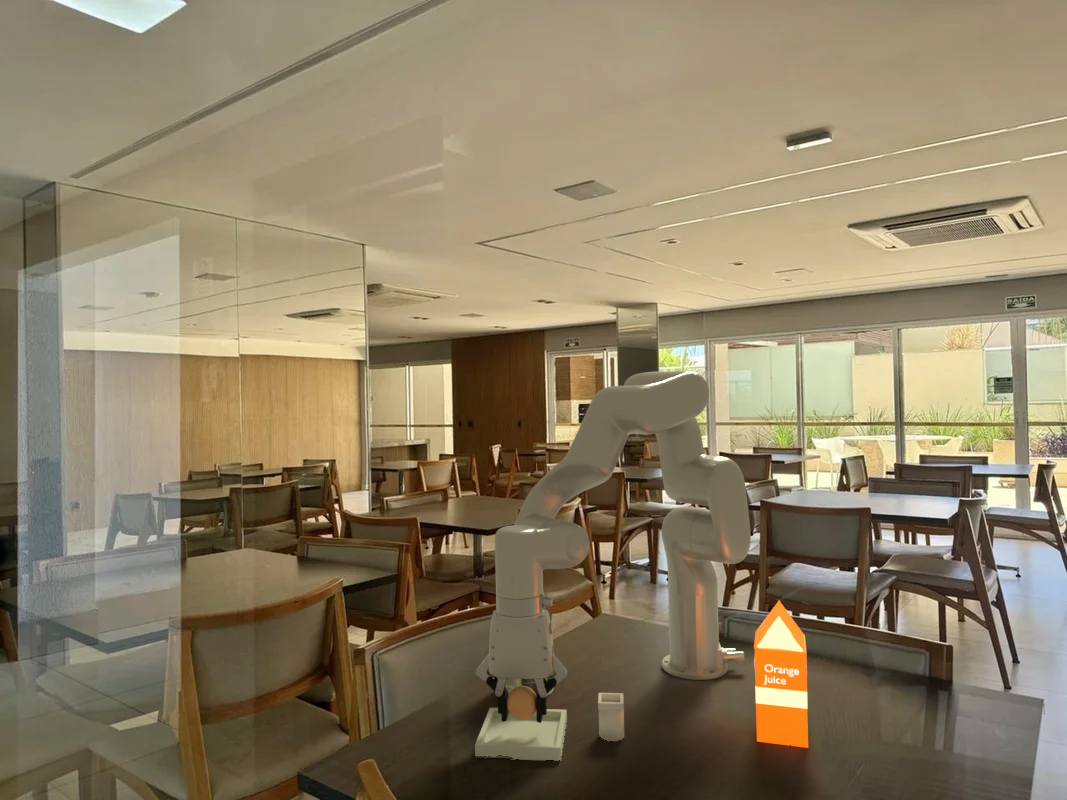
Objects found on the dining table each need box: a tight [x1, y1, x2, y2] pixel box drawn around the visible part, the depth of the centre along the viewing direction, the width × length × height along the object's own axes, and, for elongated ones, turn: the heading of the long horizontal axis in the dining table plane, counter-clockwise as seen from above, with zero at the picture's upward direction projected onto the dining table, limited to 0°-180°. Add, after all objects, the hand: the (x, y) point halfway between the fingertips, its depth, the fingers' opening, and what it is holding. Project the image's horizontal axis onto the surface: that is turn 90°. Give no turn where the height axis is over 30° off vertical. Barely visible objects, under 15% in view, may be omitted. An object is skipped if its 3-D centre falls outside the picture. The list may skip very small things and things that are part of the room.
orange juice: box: [753, 599, 809, 749], centre depth 116 cm, size 8×9×20 cm
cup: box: [597, 692, 625, 743], centre depth 116 cm, size 4×4×6 cm
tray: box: [474, 707, 568, 762], centre depth 115 cm, size 13×13×2 cm
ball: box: [507, 686, 537, 720], centre depth 115 cm, size 5×5×5 cm
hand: (522, 717), depth 115 cm, fingers closed on ball, 4 cm apart
